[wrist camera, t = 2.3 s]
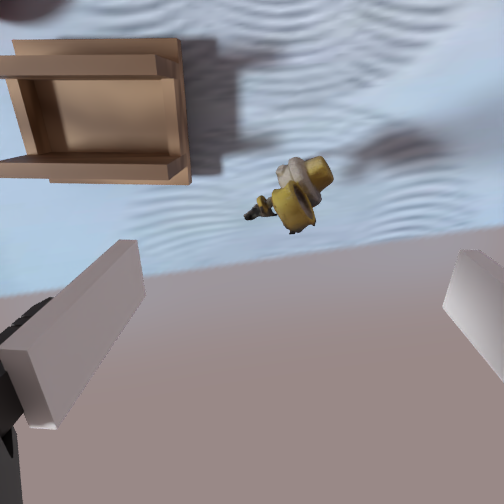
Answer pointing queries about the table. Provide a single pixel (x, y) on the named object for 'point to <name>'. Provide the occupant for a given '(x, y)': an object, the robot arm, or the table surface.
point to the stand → (99, 111)
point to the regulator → (295, 193)
